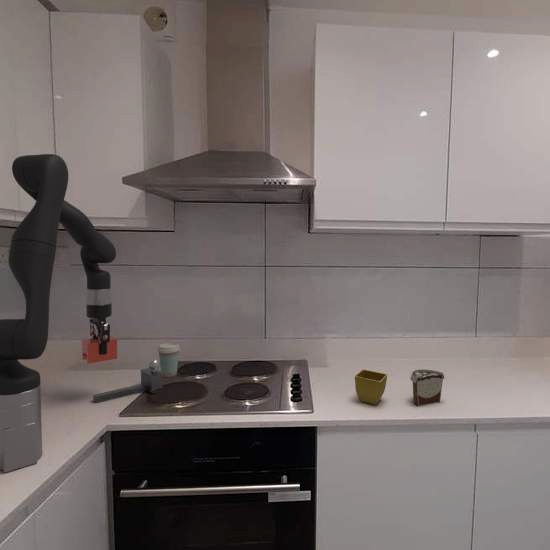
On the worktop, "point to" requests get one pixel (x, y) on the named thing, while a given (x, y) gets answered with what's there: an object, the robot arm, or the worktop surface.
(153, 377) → the grey bar with block
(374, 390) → the flower pot
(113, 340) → the red box with knob
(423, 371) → the food container
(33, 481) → the worktop surface
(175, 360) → the coffee cup
